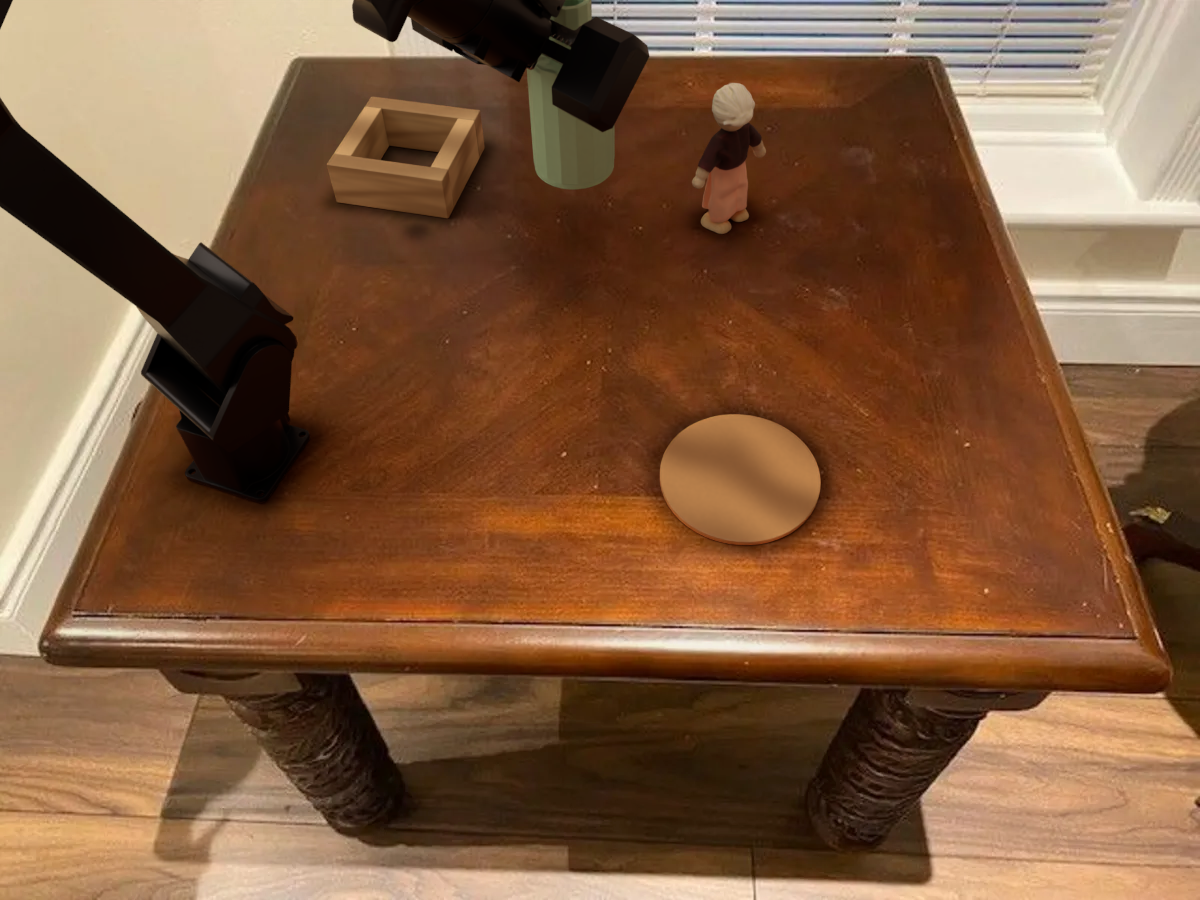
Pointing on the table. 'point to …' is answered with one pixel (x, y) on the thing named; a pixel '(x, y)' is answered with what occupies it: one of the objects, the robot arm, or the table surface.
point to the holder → (404, 184)
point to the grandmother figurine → (728, 159)
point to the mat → (740, 479)
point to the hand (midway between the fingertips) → (584, 78)
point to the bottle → (566, 123)
